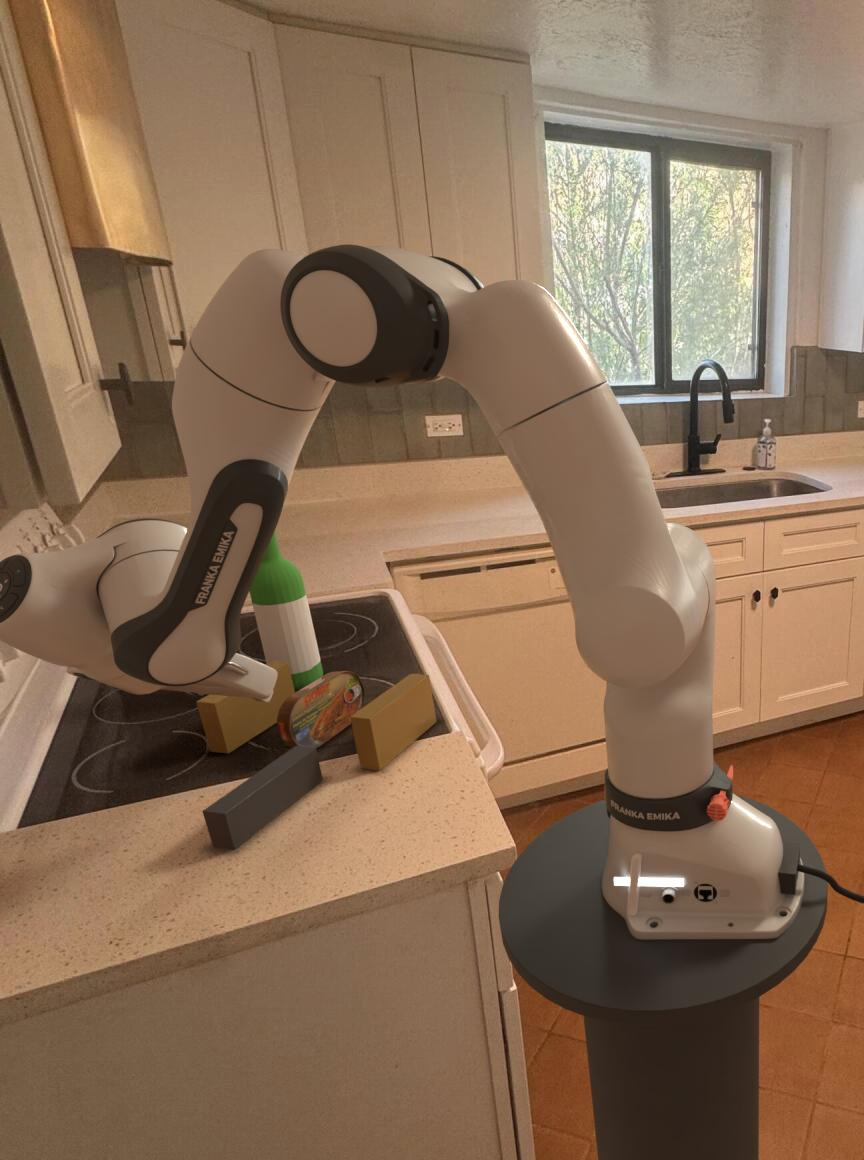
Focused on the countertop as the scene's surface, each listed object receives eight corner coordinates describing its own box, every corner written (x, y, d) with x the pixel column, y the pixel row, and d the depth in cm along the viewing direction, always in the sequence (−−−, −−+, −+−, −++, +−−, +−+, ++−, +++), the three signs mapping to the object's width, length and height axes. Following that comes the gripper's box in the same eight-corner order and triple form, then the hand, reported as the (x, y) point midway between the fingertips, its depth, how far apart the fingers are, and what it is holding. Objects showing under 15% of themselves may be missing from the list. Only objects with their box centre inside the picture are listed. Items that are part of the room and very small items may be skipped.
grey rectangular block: (323, 780, 105) (316, 747, 103) (234, 850, 91) (224, 813, 89) (303, 777, 105) (296, 745, 103) (212, 847, 91) (201, 811, 90)
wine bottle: (333, 674, 136) (298, 504, 125) (307, 694, 128) (266, 515, 118) (290, 673, 136) (251, 503, 125) (262, 693, 129) (217, 515, 118)
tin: (299, 760, 109) (286, 707, 106) (280, 758, 110) (267, 704, 107) (370, 711, 123) (361, 662, 120) (353, 709, 123) (343, 660, 120)
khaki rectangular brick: (436, 722, 120) (429, 674, 117) (380, 770, 107) (369, 718, 104) (419, 720, 120) (410, 673, 117) (360, 768, 107) (349, 716, 104)
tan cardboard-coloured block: (298, 708, 124) (288, 662, 121) (228, 753, 111) (214, 703, 108) (282, 706, 124) (271, 661, 121) (210, 751, 111) (195, 701, 109)
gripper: (235, 632, 85) (315, 675, 98) (80, 620, 89) (177, 663, 101) (211, 686, 83) (297, 724, 95) (53, 671, 86) (156, 709, 99)
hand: (234, 692), depth 98 cm, fingers open, 8 cm apart
